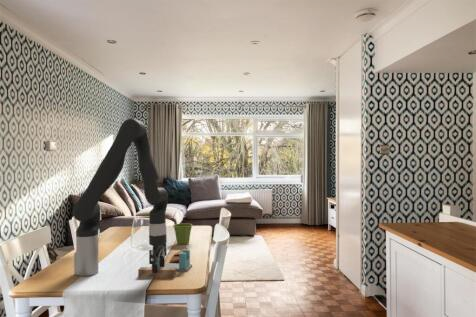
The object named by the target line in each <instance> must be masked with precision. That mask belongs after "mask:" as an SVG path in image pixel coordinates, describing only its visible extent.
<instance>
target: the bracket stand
mask: <svg viewBox="0 0 476 317" xmlns="http://www.w3.org/2000/svg"><path fill="white" fill-rule="evenodd" d="M190 252H191V250H190V249H188V250H183V253H179V264H177V263H169V262H165V266H164V267H172V268H176V272H188V271H189V270H190V269H191V268H192V267H193V264H191V253H190ZM150 267H152V265H151V266H150ZM157 267H160V266H159V260H158V263H157Z"/></svg>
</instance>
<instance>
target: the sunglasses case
mask: <svg viewBox="0 0 476 317" xmlns="http://www.w3.org/2000/svg"><path fill="white" fill-rule="evenodd" d="M183 250H189V249H188V248H186V247H185V248H182V249H180V250H179V251H177V252H175V253H174V254H173V255H172V257H171V259H170V260H169V262H168V263H177V264H179V253H183Z"/></svg>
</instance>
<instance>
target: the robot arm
mask: <svg viewBox="0 0 476 317" xmlns="http://www.w3.org/2000/svg"><path fill="white" fill-rule="evenodd" d="M132 143H133V144H134V146H135V149H136V152H137V160H138V161H137V164H138V169H139V172H140V175H141V178H142V181H143V191H144V197H145V198H144V199H145V200H146V201H147V203H148V204H150V205H153V206H152V207H153V208H152V209H151V210H150V211H149V213H148V214H149V215H148V218H149V220H148V221H149V225H148V239H149V240H148V243H149V245H150V246H152V249H149V250H148V251H149V252H148V255H149V256H148V258H149V259H148V262H149V263H148V264H149V265H151V266H152V273H157V272H158V270H157V263H158V260H159V266H160V267H164V266H165V263H166V262H165V260H166V256H167V242H168V240H167V225H166V224H167V223H166V222H167V221H166V220H167V219H166V211H167V208H168V207H167V206H168V202H169V194H168V191H167V190H166V189H165V188H164V187H158V182H159V179H160V176H159V173H158V171H157V167H156V165H155V161H154V158H153V155H152V150H151V147H150V142H149V135H148V132H147V127H146V125H145V124H144V123H143V122H142V121H140V120H138V119H136V118H128V119H126V120H124V121H123V122H122V123H121V125H120V128H119V129H118V132H117V133H116V136H115V138H114V141H113V142H112V144H111V146H110V148H109V149H108V151H107V153H106V155H105V156H104V158H103V159H102V160H101V162H100V164H99V166H98V167H97V168H96V172H95V173H94V175H93V177H92V178H91V180H90V182H89V183H88V185H87V186H86V187H87V188H86V189H85V190H84V192H83V194H82V195H81V196H80V198H79V199H78V200H77V201H76V203H75V205H74V206H73V207H72V216H73V218H74V219H75V220H76V221H78V222H79V225H78V227H77V228H76V231H75V239H76V240H75V241H76V243H75V249H76V251H75V252H74V254H73V257H74V258H73V260H74V261H73V263H74V264H73V266H74V267H73V270H74V271H73V272H74V273H73V274H74V275H77V276H80V277H88V276H93V275H96V274H98V273H99V230H100V226H101V207H100V204H99V201H100V200H101V197H102V196H103V195H104V194H105V193H106V192H107V191H108V190H109V189H110V187H111V188H112V186H113V184H115V182H116V180H117V179H118V177H119V175H120V174H121V172H122V170H123V168H124V164H125V160H126V155H127V151H128V150H129V148H130V147H131V145H132Z"/></svg>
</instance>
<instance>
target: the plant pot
mask: <svg viewBox="0 0 476 317" xmlns="http://www.w3.org/2000/svg"><path fill="white" fill-rule="evenodd" d="M172 226H173V228H174V234H175V239H176V244H177V245H180V246H181V245H187V244H190V239H191V230H192V228H193V224H192V223H187V222H186V223H183V222H182V223H175V224H172Z"/></svg>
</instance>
